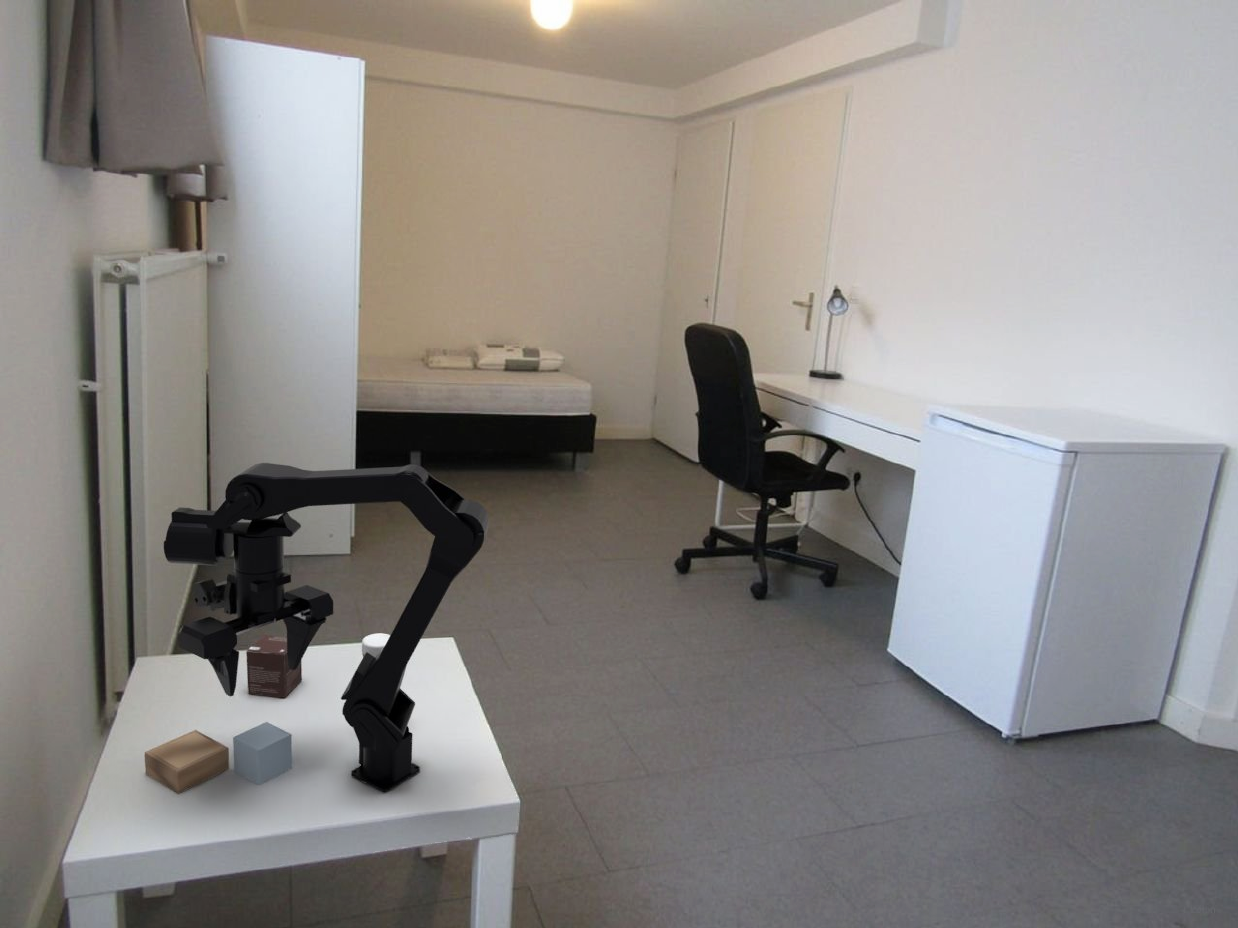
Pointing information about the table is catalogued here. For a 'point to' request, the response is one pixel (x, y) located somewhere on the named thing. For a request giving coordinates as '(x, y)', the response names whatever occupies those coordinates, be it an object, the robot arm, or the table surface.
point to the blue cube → (262, 753)
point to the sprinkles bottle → (374, 643)
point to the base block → (186, 761)
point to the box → (271, 668)
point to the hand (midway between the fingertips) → (262, 681)
